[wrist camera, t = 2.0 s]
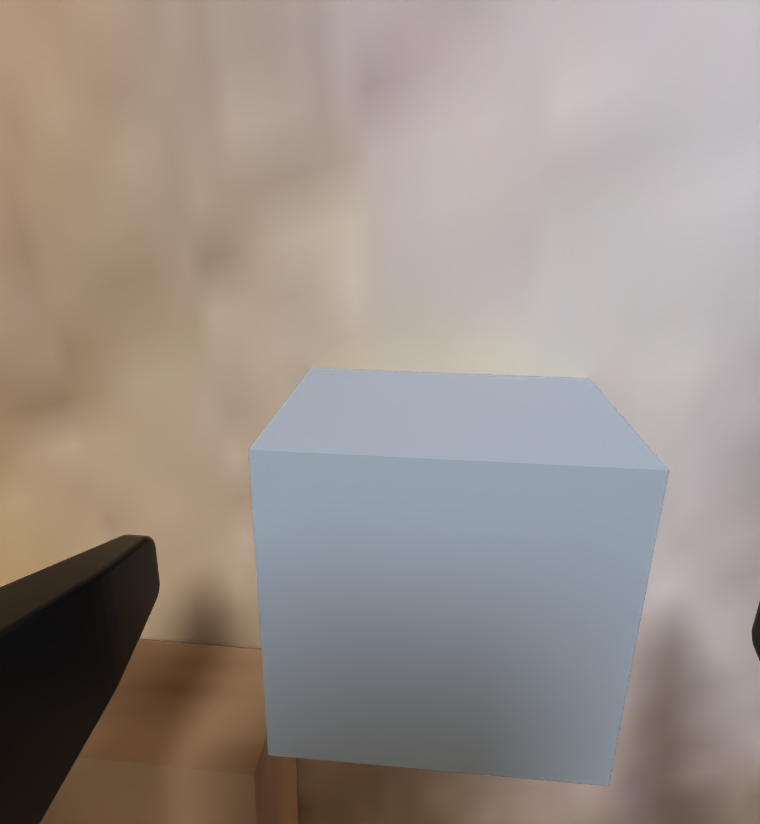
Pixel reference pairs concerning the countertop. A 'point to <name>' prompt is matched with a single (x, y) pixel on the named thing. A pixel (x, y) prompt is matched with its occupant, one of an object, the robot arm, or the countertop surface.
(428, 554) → the blue-grey squarish block
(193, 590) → the countertop surface
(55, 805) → the base block
